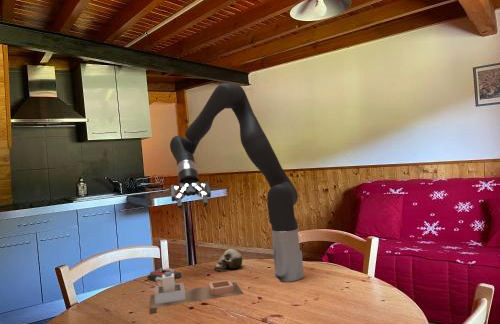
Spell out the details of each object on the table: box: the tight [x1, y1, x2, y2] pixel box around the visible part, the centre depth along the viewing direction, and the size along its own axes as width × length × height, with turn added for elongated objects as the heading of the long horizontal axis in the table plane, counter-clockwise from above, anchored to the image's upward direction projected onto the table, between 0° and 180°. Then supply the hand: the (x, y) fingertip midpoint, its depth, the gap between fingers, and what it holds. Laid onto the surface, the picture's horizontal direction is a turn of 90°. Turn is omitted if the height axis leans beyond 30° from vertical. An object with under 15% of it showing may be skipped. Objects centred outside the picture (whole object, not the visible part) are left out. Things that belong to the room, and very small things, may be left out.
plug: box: [162, 271, 176, 293], centre depth 117 cm, size 4×4×8 cm
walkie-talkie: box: [146, 267, 182, 283], centre depth 140 cm, size 9×4×20 cm
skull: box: [214, 248, 245, 273], centre depth 152 cm, size 12×10×10 cm
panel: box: [149, 281, 244, 314], centre depth 119 cm, size 28×12×2 cm, turn 103°
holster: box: [208, 279, 234, 295], centre depth 121 cm, size 7×7×2 cm
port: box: [154, 282, 186, 306], centre depth 117 cm, size 9×9×3 cm
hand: (193, 206), depth 134 cm, fingers open, 8 cm apart
